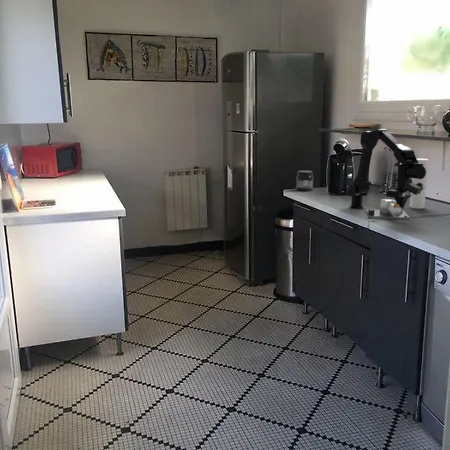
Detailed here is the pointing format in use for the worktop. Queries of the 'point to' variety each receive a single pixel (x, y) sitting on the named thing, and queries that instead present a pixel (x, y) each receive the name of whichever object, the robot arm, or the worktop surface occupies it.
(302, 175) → the supplement container
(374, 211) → the flange
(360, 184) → the robot arm
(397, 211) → the collar
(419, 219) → the worktop surface
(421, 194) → the cylindrical container
